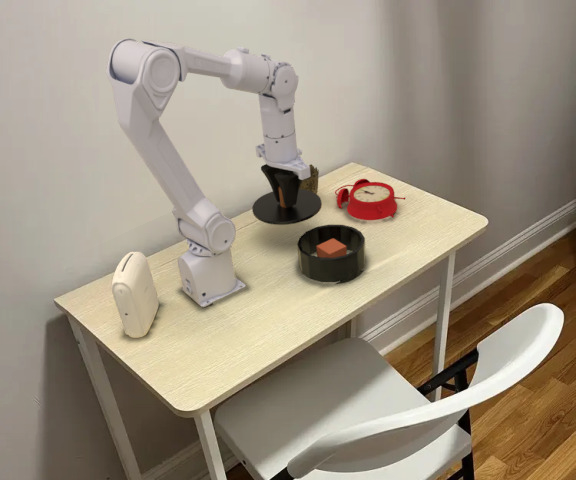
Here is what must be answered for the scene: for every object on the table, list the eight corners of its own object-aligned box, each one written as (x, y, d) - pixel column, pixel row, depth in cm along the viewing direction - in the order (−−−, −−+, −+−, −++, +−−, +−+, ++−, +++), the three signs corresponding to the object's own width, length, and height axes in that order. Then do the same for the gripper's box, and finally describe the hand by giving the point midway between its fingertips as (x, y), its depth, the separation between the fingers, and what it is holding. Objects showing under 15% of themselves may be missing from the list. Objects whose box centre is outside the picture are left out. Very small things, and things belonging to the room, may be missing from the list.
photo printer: (147, 339, 117) (129, 278, 109) (123, 338, 118) (103, 278, 110) (162, 303, 125) (147, 244, 116) (140, 303, 125) (123, 245, 117)
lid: (278, 235, 123) (275, 211, 120) (240, 210, 132) (236, 187, 129) (335, 210, 128) (334, 186, 125) (295, 187, 137) (292, 164, 134)
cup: (322, 197, 149) (319, 162, 144) (320, 214, 144) (317, 178, 138) (288, 198, 150) (284, 164, 145) (285, 215, 145) (281, 180, 139)
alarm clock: (377, 212, 134) (324, 177, 141) (372, 237, 139) (321, 202, 146) (412, 192, 139) (359, 159, 145) (406, 217, 144) (355, 184, 150)
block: (330, 272, 126) (329, 254, 123) (317, 264, 129) (316, 245, 126) (347, 264, 128) (346, 246, 125) (334, 256, 130) (333, 237, 128)
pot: (326, 292, 122) (324, 267, 119) (287, 265, 130) (284, 240, 127) (378, 267, 127) (378, 241, 123) (338, 242, 135) (336, 217, 131)
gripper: (322, 136, 117) (326, 208, 126) (274, 114, 126) (282, 183, 135) (288, 149, 114) (295, 221, 123) (242, 126, 123) (252, 195, 133)
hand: (286, 202), depth 129 cm, fingers closed on lid, 2 cm apart
